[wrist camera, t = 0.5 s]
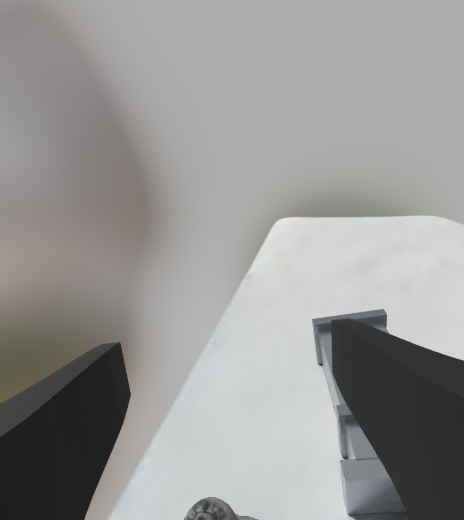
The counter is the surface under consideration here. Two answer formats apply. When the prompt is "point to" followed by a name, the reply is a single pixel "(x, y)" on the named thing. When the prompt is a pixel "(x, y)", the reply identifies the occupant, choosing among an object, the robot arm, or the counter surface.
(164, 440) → the counter surface
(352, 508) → the grey divided tray
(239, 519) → the grey tapered rounded piece
